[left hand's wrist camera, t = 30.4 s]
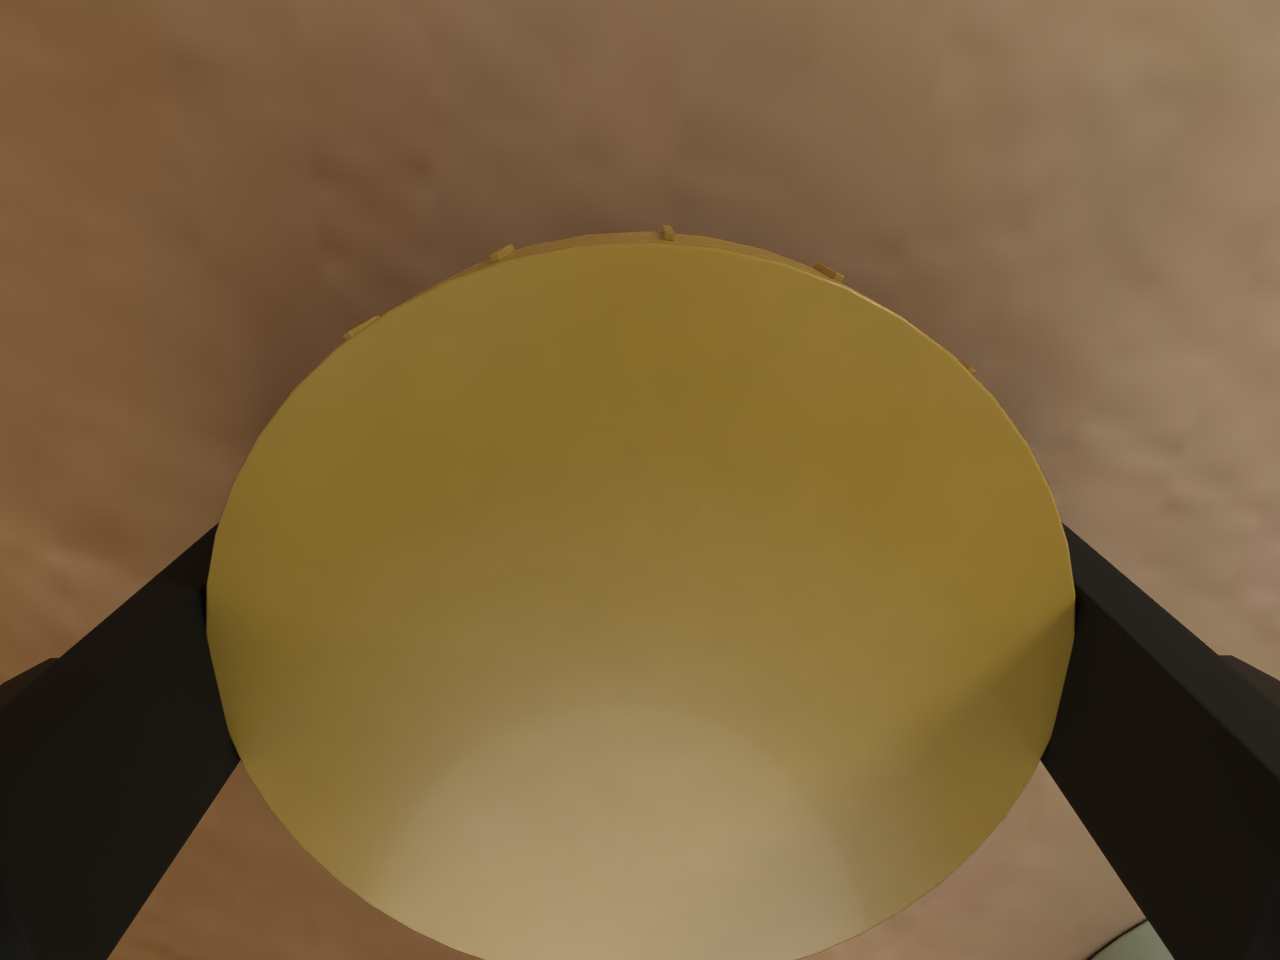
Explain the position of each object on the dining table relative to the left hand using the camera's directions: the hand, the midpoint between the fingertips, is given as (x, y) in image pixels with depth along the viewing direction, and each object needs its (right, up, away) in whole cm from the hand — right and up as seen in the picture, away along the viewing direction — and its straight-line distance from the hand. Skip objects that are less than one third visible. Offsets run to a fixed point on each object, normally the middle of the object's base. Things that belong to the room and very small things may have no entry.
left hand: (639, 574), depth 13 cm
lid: (0, -1, -2) cm, 3 cm away
